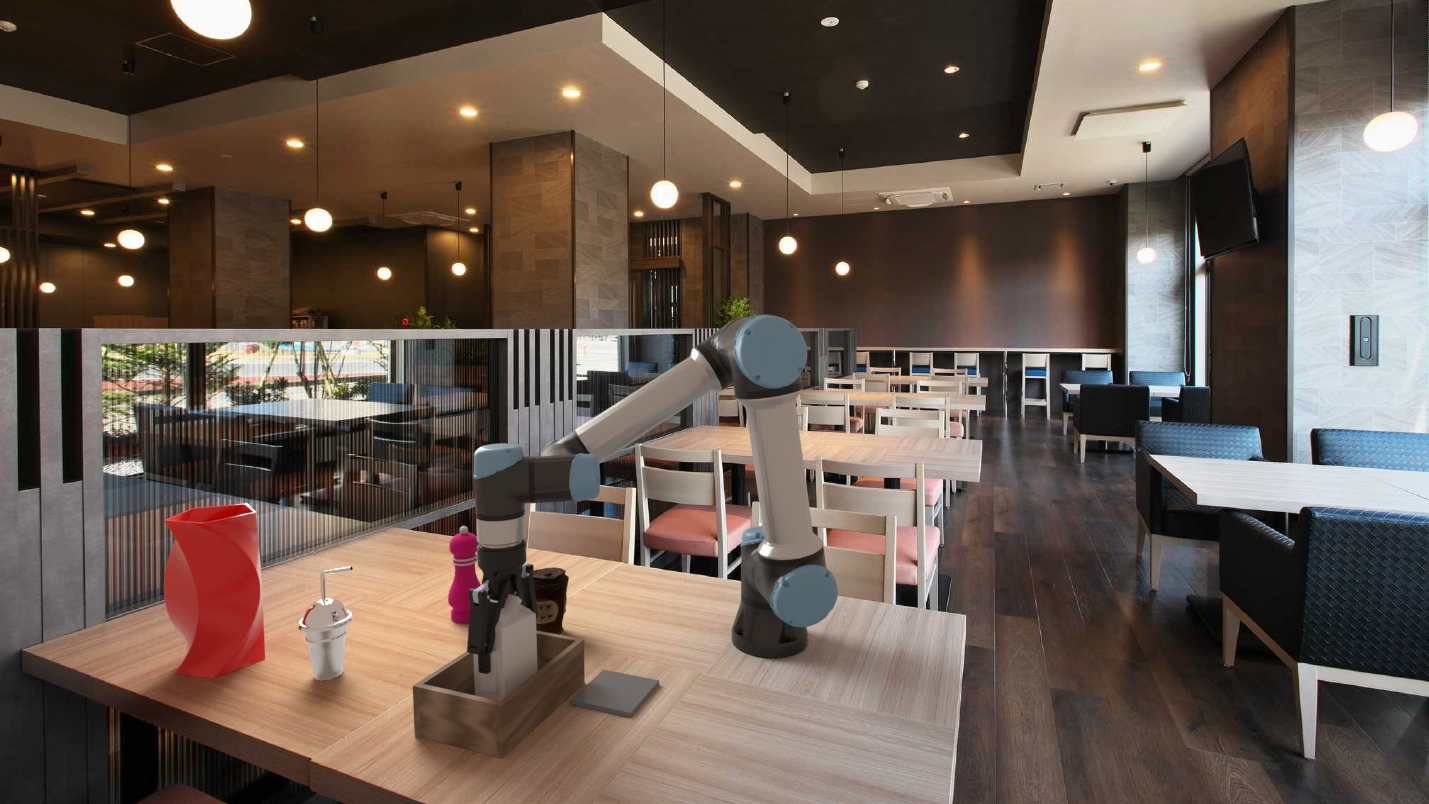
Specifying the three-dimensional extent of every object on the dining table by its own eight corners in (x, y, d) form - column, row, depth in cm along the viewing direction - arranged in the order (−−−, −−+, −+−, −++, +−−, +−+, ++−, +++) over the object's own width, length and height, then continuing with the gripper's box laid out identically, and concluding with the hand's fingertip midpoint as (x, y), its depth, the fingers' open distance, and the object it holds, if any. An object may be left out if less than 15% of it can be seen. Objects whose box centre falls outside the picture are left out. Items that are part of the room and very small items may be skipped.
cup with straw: (336, 659, 130) (330, 555, 128) (367, 670, 126) (362, 563, 124) (290, 679, 122) (283, 569, 120) (322, 692, 118) (316, 578, 116)
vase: (159, 668, 126) (147, 517, 123) (239, 635, 139) (229, 499, 136) (215, 684, 121) (203, 527, 118) (292, 649, 134) (283, 507, 131)
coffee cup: (558, 645, 136) (556, 581, 135) (518, 641, 138) (517, 578, 136) (575, 626, 145) (574, 566, 143) (538, 623, 146) (537, 563, 145)
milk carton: (505, 721, 109) (501, 604, 107) (475, 708, 113) (470, 595, 111) (538, 700, 115) (535, 589, 113) (509, 689, 119) (505, 581, 117)
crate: (584, 682, 122) (583, 639, 121) (502, 758, 100) (501, 705, 100) (508, 667, 127) (506, 625, 126) (414, 735, 106) (412, 685, 105)
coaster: (659, 684, 121) (659, 680, 121) (630, 717, 111) (630, 712, 111) (603, 673, 125) (603, 669, 125) (570, 704, 115) (570, 699, 115)
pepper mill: (441, 620, 147) (437, 528, 145) (465, 608, 154) (462, 520, 152) (468, 626, 145) (465, 532, 142) (491, 613, 151) (488, 523, 149)
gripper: (520, 521, 122) (524, 646, 124) (436, 558, 102) (442, 705, 105) (557, 526, 119) (560, 652, 122) (478, 564, 100) (484, 714, 102)
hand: (506, 676), depth 113 cm, fingers closed on milk carton, 8 cm apart
